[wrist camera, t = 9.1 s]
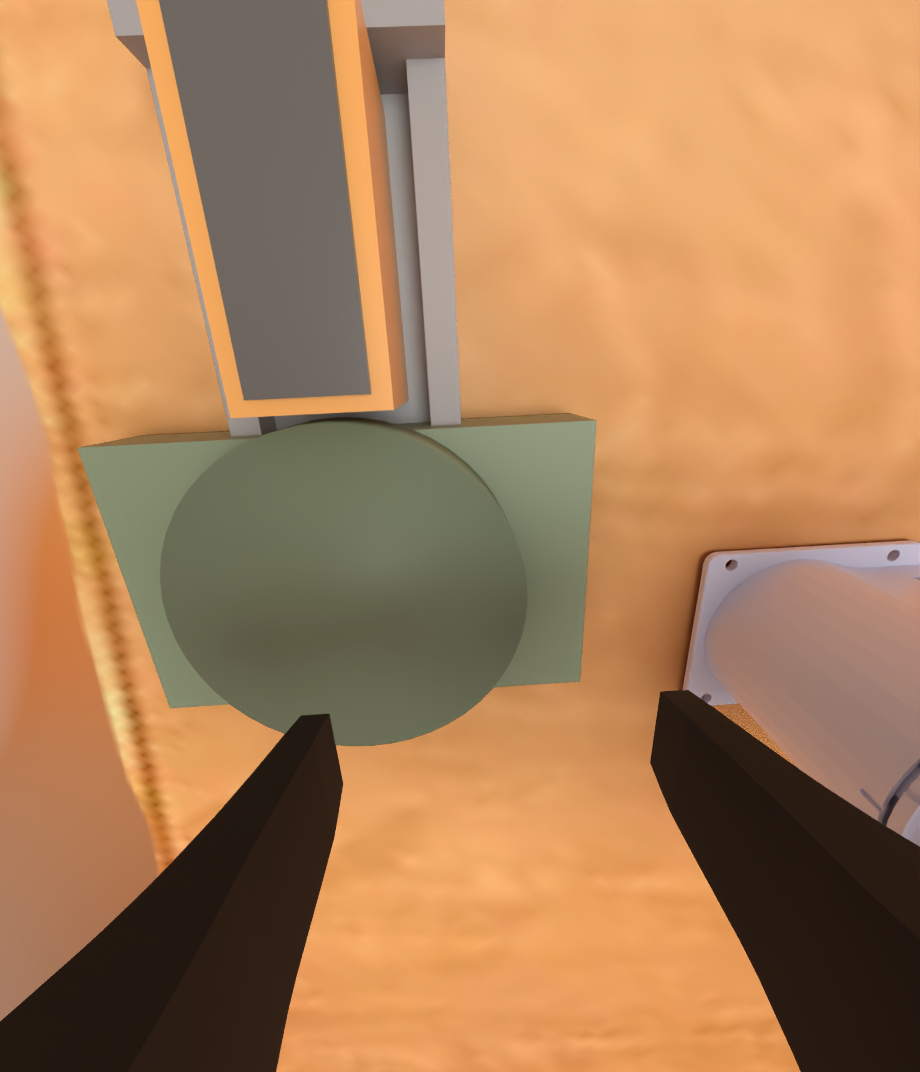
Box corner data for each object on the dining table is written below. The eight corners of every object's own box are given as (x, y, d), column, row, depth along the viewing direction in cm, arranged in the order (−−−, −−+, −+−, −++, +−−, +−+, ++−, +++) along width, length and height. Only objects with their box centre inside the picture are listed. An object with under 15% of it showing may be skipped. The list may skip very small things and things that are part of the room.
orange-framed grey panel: (384, 112, 12) (347, -60, 8) (409, 400, 15) (393, 410, 10) (246, 117, 12) (118, -53, 7) (296, 406, 15) (226, 418, 10)
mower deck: (583, 56, 13) (668, -135, 8) (560, 647, 20) (596, 730, 15) (33, 75, 12) (-218, -112, 8) (212, 669, 19) (139, 761, 15)
